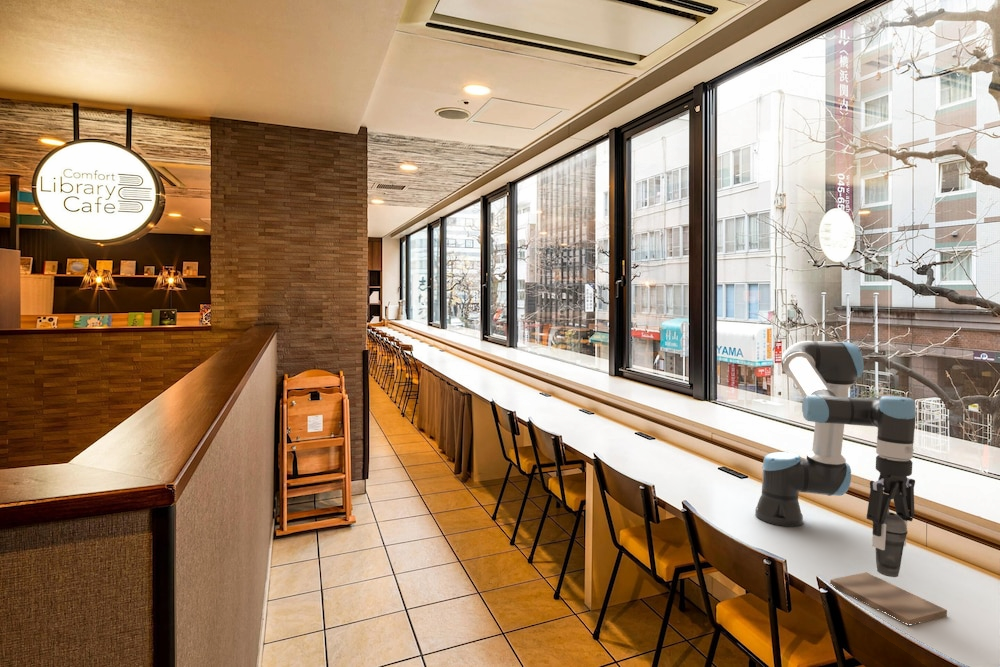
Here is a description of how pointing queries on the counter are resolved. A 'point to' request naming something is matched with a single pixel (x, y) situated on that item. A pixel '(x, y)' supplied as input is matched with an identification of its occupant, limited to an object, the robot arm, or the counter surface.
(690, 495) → the counter surface
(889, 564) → the beverage cup
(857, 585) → the serving board
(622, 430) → the counter surface
